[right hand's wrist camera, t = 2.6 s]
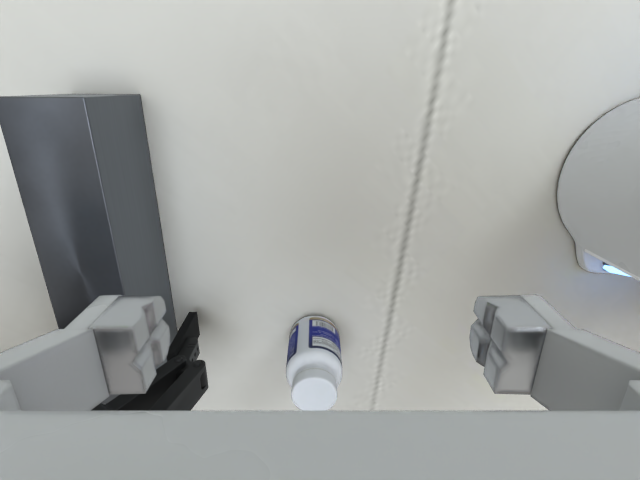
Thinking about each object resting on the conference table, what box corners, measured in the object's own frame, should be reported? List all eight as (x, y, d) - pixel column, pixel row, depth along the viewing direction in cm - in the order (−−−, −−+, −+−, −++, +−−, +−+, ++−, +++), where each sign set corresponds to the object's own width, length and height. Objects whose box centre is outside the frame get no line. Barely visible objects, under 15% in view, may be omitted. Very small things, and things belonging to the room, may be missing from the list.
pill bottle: (305, 362, 43) (301, 427, 35) (280, 326, 42) (271, 386, 33) (348, 343, 42) (355, 405, 34) (325, 306, 41) (326, 362, 32)
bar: (70, 94, 33) (-9, 96, 25) (140, 94, 33) (83, 96, 25) (124, 344, 43) (79, 404, 35) (179, 344, 43) (147, 404, 35)
